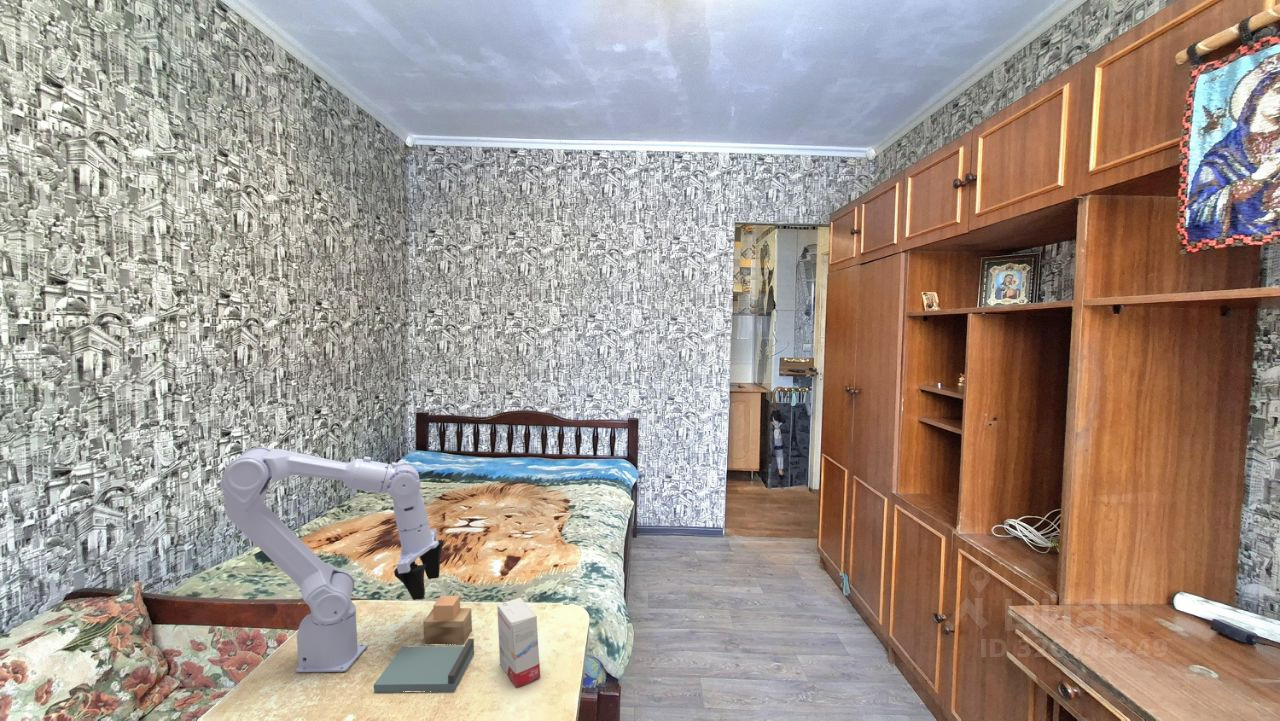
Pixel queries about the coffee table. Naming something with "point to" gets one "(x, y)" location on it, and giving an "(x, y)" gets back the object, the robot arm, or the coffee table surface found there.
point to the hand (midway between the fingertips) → (426, 587)
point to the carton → (446, 607)
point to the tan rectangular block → (448, 628)
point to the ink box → (518, 641)
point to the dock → (426, 669)
